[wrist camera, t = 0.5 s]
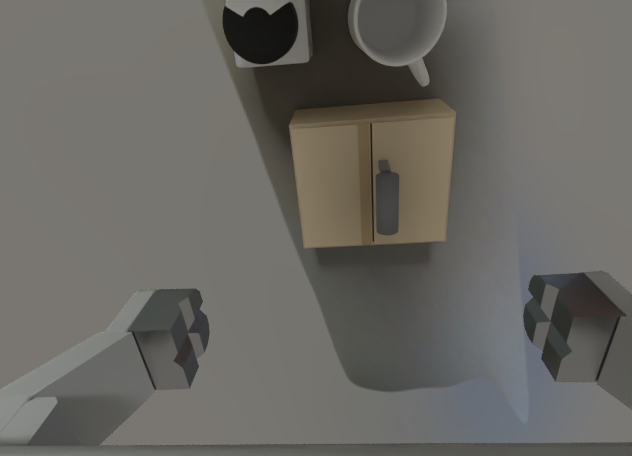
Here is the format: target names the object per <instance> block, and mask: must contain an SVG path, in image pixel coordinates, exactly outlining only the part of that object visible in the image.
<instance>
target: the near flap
mask: <svg viewBox="0 0 632 456" xmlns="http://www.w3.org/2000/svg"><path fill="white" fill-rule="evenodd" d="M453 120H454V117H441V118H428V119H415V120H402V121H389V122H375V123H372V161H373V213H374V244H388V243H408V242H428V241H444V233H445V220H446V208H447V195H448V183H449V170H450V158H451V145H452V133H453Z"/></svg>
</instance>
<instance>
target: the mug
mask: <svg viewBox="0 0 632 456" xmlns="http://www.w3.org/2000/svg"><path fill="white" fill-rule="evenodd" d="M446 16H447V2H446V0H351V2H350V6H349V10H348V27H349V31H350V34H351V37H352V39H353V41H354V42H355V44H356V45H357V46H358V47H359V48H360V49H361V50H362V51H363V52H365V53H366V54H367V55H368V56H369V57H370V58H372V59H373V60H375V61H376V62H378V63H381V64H383V65H387V66H404V65H408V66H409V68H410V70H411V72H412V73H413V75H414V77H415V78H416V80H417V81H418V83H419V84H420V85H421V86H422V87H425V86H427V85H428V84H429V82H430V79H429V75H428V72H427V69H426V67H425V64H424V61H423V59H422V57H424V56H425V55H426V54H427V53H428V52H429V51H430V50H431V49H432V48H433V47H434V46H435V44H436V43H437V41H438V40H439V38H440V36H441V34H442V31H443V29H444V25H445V22H446Z"/></svg>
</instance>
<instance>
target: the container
mask: <svg viewBox="0 0 632 456" xmlns="http://www.w3.org/2000/svg"><path fill="white" fill-rule="evenodd" d="M225 1H226V4H225V7H224V11H223V29H224V33H225V36H226V39H227V41H228V43H229V45H230V46H231V48H232V49H233V50H234V55H235V61H236V65H237V67H238V68H249V67H261V66H273V65H285V64H297V63H306V62H308V61H309V60H310V58H311V56H312V55H313V46H312V33H311V20H310V7H309V0H225Z"/></svg>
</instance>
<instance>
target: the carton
mask: <svg viewBox="0 0 632 456" xmlns="http://www.w3.org/2000/svg"><path fill="white" fill-rule="evenodd" d="M441 117H454V120H453V133H452V145H451V158H450V170H449V183H448V195H447V208H446V220H445V233H444V241H428V242H445V241H446V231H447V219H448V207H449V194H450V182H451V170H452V158H453V146H454V134H455V122H456V112H455V111H454V110H453V109H452V108H450V107H449V106H448V105H447V104H446V103H444V102H443V101H442V100H441V99H439V98H436V99H424V100H411V101H399V102H386V103H374V104H361V105H349V106H337V107H324V108H312V109H299V110H296V111H295V113H294V115H293V117H292V119H291V122H290V124H289V129H290V138H291V146H292V154H293V163H294V171H295V179H296V188H297V196H298V204H299V212H300V221H301V229H302V237H303V246H304V248H324V247H344V246H364V245H385V244H374V213H373V161H372V123H375V122H389V121H402V120H415V119H428V118H441ZM408 243H425V242H408ZM388 244H405V243H388Z"/></svg>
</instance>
